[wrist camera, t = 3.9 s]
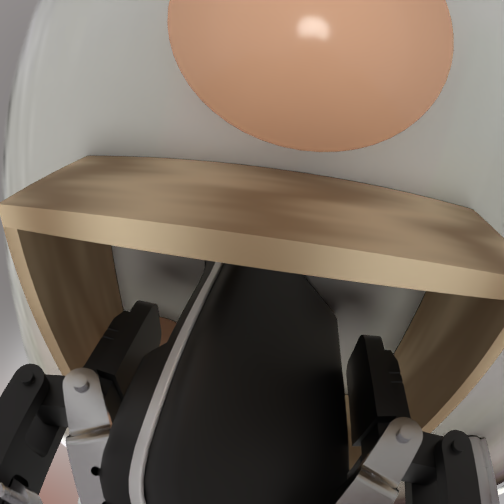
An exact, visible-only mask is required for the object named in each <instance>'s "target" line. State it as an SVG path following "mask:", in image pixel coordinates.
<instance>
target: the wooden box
mask: <svg viewBox="0 0 504 504" xmlns="http://www.w3.org/2000/svg"><path fill="white" fill-rule="evenodd" d="M0 215H1V219H2V224H3V228H4V232H5V235H6V239H7V242H8V246H9V249H10V253H11V256H12V259H13V262H14V265H15V268H16V271H17V274H18V277H19V280H20V283H21V286H22V288H23V291H24V294H25V296H26V299H27V301H28V304H29V306H30V309H31V311H32V313H33V316H34V318H35V320H36V323H37V325H38V327H39V329H40V332H41V334H42V336H43V338H44V340H45V342H46V344H47V346H48V348H49V350H50V352H51V354H52V356H53V358H54V360H55V362H56V364H57V366H58V368H59V369H60V371H61V373H62V375H63V376H66V375H67V374H68V373H69V372H70V371H72V370H74V369H76V368H82V367H83V366H84V365H85V363H86V362H87V360H88V358H89V357H90V355H91V354H92V352H93V350H94V349H95V347H96V345H97V344H98V342H99V341H100V339H101V337H103V334H104V333H105V331H106V330H107V329H108V327H109V325H110V323H111V322H112V320H113V319H114V318H115V317H116V316H117V315H119V314H120V313H122V312H123V307H122V302H121V298H120V293H119V288H118V283H117V277H116V272H115V266H114V261H113V255H112V248H111V245H113V246H119V247H125V248H131V249H137V250H144V251H150V252H156V253H162V254H169V255H175V256H182V257H188V258H194V259H201V260H208V261H214V262H221V263H227V264H234V265H241V266H248V267H254V268H261V269H268V270H275V271H282V272H289V273H296V274H303V275H310V276H317V277H325V278H332V279H339V280H346V281H354V282H361V283H369V284H376V285H384V286H392V287H400V288H407V289H415V290H423V291H426V293H425V295H424V297H423V300H422V302H421V304H420V306H419V308H418V310H417V312H416V314H415V316H414V318H413V320H412V322H411V324H410V326H409V328H408V330H407V331H406V333H405V335H404V337H403V339H402V341H401V342H400V344H399V346H398V348H397V350H396V351H395V353H394V356H395V357H396V359H397V360H398V364H399V368H400V374H401V376H402V380H403V382H402V383H403V384H404V389H405V393H406V398H407V403H408V407H409V412H410V417H411V419H413V420H414V421H416V422H417V423H418V424H419V425H420V427H421V429H422V431H424V432H427V433H431V432H432V431H433V430H434V429H435V428H436V427H437V426H438V425H439V424H440V423H441V422H442V421H443V420H444V419H445V418H446V417H447V416H448V415H449V414H450V413H451V412H452V411H453V410H454V409H455V408H456V407H457V406H458V405H459V403H460V402H461V401H462V400H463V399H464V398H465V397H466V396H467V395H468V393H469V392H470V391H471V390H472V389H473V388H474V386H475V385H476V384H477V383H478V382H479V380H480V379H481V378H482V377H483V375H484V374H485V373H486V372H487V370H488V369H489V368H490V367H491V365H492V364H493V363H494V361H495V360H496V359H497V357H498V356H499V355H500V353H501V352H502V350H503V349H504V238H503V237H502V236H501V235H500V234H499V233H498V232H497V231H496V230H495V229H494V228H493V227H492V226H491V225H489V224H488V223H487V222H486V221H485V220H484V219H483V218H482V217H481V216H480V215H479V214H478V213H476V212H475V211H474V210H473V209H470V208H466V207H463V206H459V205H455V204H451V203H448V202H444V201H440V200H436V199H432V198H428V197H424V196H420V195H416V194H411V193H407V192H403V191H398V190H393V189H389V188H384V187H379V186H374V185H369V184H364V183H359V182H354V181H349V180H343V179H338V178H332V177H326V176H320V175H314V174H307V173H301V172H294V171H287V170H280V169H273V168H265V167H257V166H248V165H239V164H230V163H220V162H209V161H197V160H184V159H170V158H152V157H128V156H86V157H84V158H82V159H80V160H78V161H75V162H73V163H71V164H69V165H67V166H65V167H63V168H61V169H59V170H57V171H55V172H53V173H51V174H49V175H47V176H46V177H44V178H42V179H40V180H38V181H36V182H34V183H33V184H31V185H29V186H27V187H26V188H24V189H22V190H20V191H19V192H17V193H15V194H14V195H12V196H10V197H9V198H7V199H5V200H4V201H2V202H0ZM345 402H346V413H347V426H348V443H349V469H350V468H351V466H352V465H353V464H354V462H355V461H356V460H357V458H358V457H359V456H360V454H361V453H362V452H361V446H352V441H351V423H350V409H349V397H348V395H345Z"/></svg>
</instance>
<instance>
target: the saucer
mask: <svg viewBox="0 0 504 504" xmlns="http://www.w3.org/2000/svg"><path fill="white" fill-rule="evenodd" d="M168 32H169V40H170V44H171V47H172V51H173V55H174V57H175V60H176V62H177V64H178V67H179V69H180V71H181V73H182V74H183V76H184V78H185V79H186V81H187V82H188V84H189V86H190V87H191V88H192V89H193V91H194V92H195V93H196V94H197V96H198V97H199V98H200V99H201V100H202V101H203V102H204V103H205V104H206V105H207V106H208V107H209V108H210V109H211V110H212V111H213V112H215V113H216V114H217V115H219V116H220V117H221V118H223V119H224V120H225V121H227V122H228V123H229V124H231V125H233V126H235V127H236V128H238V129H240V130H241V131H243V132H245V133H247V134H249V135H252V136H254V137H256V138H258V139H260V140H263V141H266V142H269V143H272V144H275V145H278V146H282V147H287V148H292V149H297V150H304V151H314V152H339V151H346V150H354V149H359V148H363V147H366V146H370V145H374V144H377V143H379V142H382V141H384V140H387V139H389V138H391V137H393V136H395V135H397V134H398V133H400V132H402V131H404V130H405V129H407V128H408V127H409V126H411V125H412V124H413V123H415V122H416V121H417V120H419V119H420V117H421V116H422V115H423V114H424V113H425V112H426V111H427V110H428V109H429V108H430V107H431V106H432V104H433V103H434V101H435V100H436V99H437V97H438V96H439V94H440V92H441V90H442V88H443V86H444V84H445V82H446V80H447V77H448V74H449V71H450V67H451V63H452V56H453V28H452V21H451V17H450V13H449V10H448V7H447V3H446V1H445V0H170V2H169V7H168Z"/></svg>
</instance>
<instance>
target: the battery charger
mask: <svg viewBox="0 0 504 504" xmlns="http://www.w3.org/2000/svg"><path fill="white" fill-rule="evenodd" d="M109 432H110V433H109V437H108V440H107V443H106V446H105V448H104V451H103V455H102V461H101V467H100V468H98V471H97V476H98V475H99V478H100V483H101V488H102V493H103V497H104V499H105V504H330V503H329V502H328V501H329V500H330V498H331V497H332V495H333V494H334V493H335V491H336V490H337V488H338V487H339V486H340V485H342V484H343V483H344V482H346V481H347V473H348V472H349V443H348V426H347V413H346V402H345V392H344V383H343V374H342V365H341V356H340V345H339V335H338V325H337V318H336V316H335V314H334V313H333V312H332V310H331V309H330V308H329V307H328V305H327V304H326V303H325V302H324V300H323V299H322V298H321V297H320V296H319V294H318V293H317V292H316V291H315V290H314V288H313V287H312V286H311V285H310V283H309V282H308V281H307V280H306V279H305V277H304V276H303V275H302V274H296V273H289V272H282V271H275V270H268V269H261V268H254V267H248V266H241V265H234V264H227V263H221V262H214V261H208V260H205V270H204V273H203V275H202V277H201V280H200V282H199V284H198V286H197V287H196V289H195V291H194V293H193V294H192V296H191V298H190V299H189V301H188V303H187V305H186V307H185V309H184V310H183V312H182V314H181V316H180V318H179V320H178V322H177V324H176V325H175V327H174V329H173V331H172V333H171V335H170V337H169V339H168V341H167V343H165V344H163V345H161V346H159V347H157V348H155V349H154V350H152V351H150V352H149V353H148V354H147V355H145V356H144V357H143V359H142V361H141V363H140V364H139V366H138V368H137V370H136V372H135V374H134V376H133V379H132V381H131V383H130V385H129V387H128V389H127V391H126V393H125V396H124V398H123V400H122V402H121V405H120V407H119V409H118V412H117V414H116V417H115V419H114V421H113V424H112V426H111V429H110V431H109Z"/></svg>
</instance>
